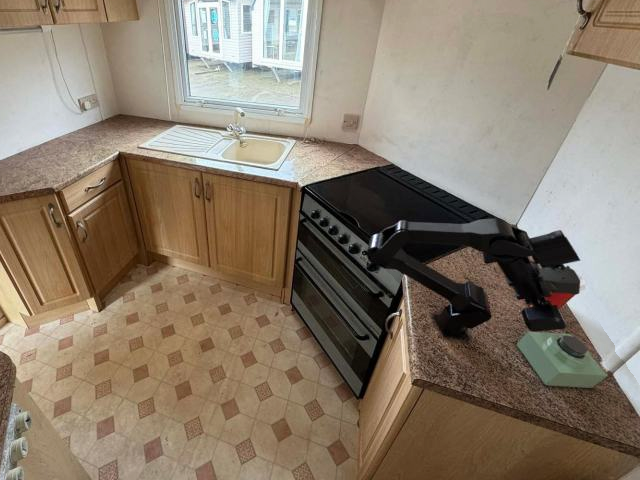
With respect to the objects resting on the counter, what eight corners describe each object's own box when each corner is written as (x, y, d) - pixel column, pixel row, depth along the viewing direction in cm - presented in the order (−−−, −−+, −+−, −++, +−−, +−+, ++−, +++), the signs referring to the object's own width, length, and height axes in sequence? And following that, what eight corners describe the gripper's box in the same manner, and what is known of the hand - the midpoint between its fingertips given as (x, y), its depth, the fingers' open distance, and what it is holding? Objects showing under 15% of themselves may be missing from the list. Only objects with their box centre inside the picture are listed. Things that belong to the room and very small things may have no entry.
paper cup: (541, 298, 94) (569, 265, 86) (563, 320, 88) (596, 287, 80) (517, 297, 94) (543, 264, 86) (537, 320, 87) (568, 286, 80)
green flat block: (545, 385, 72) (565, 368, 68) (516, 344, 80) (531, 327, 76) (591, 388, 72) (613, 371, 68) (557, 346, 80) (575, 329, 76)
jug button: (568, 357, 70) (573, 352, 69) (552, 339, 74) (557, 334, 73) (586, 358, 70) (592, 353, 69) (570, 340, 74) (576, 335, 73)
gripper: (583, 292, 56) (618, 352, 59) (550, 234, 71) (579, 284, 73) (511, 303, 63) (545, 356, 66) (494, 248, 78) (522, 293, 80)
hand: (549, 320), depth 71 cm, fingers open, 4 cm apart
